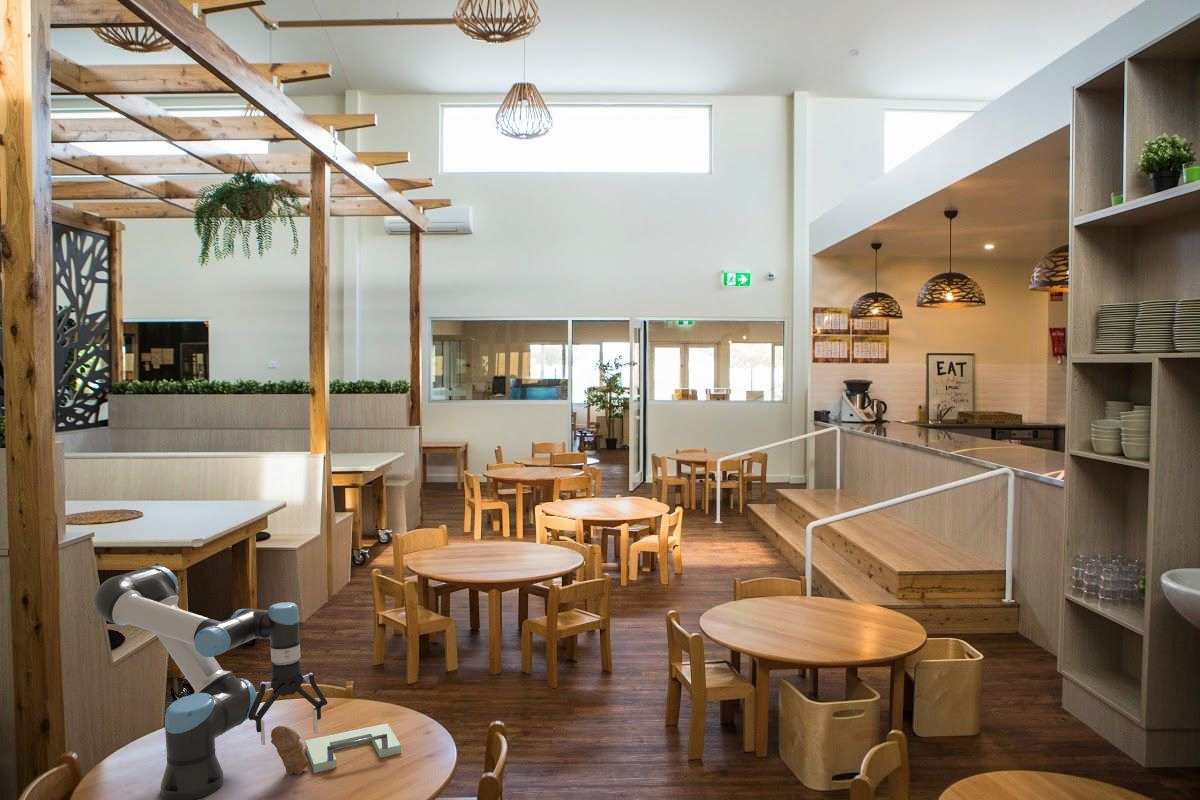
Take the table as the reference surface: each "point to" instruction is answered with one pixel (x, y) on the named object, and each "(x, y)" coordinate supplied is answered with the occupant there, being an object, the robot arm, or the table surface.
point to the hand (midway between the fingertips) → (289, 737)
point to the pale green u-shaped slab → (319, 745)
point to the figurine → (289, 749)
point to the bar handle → (330, 748)
